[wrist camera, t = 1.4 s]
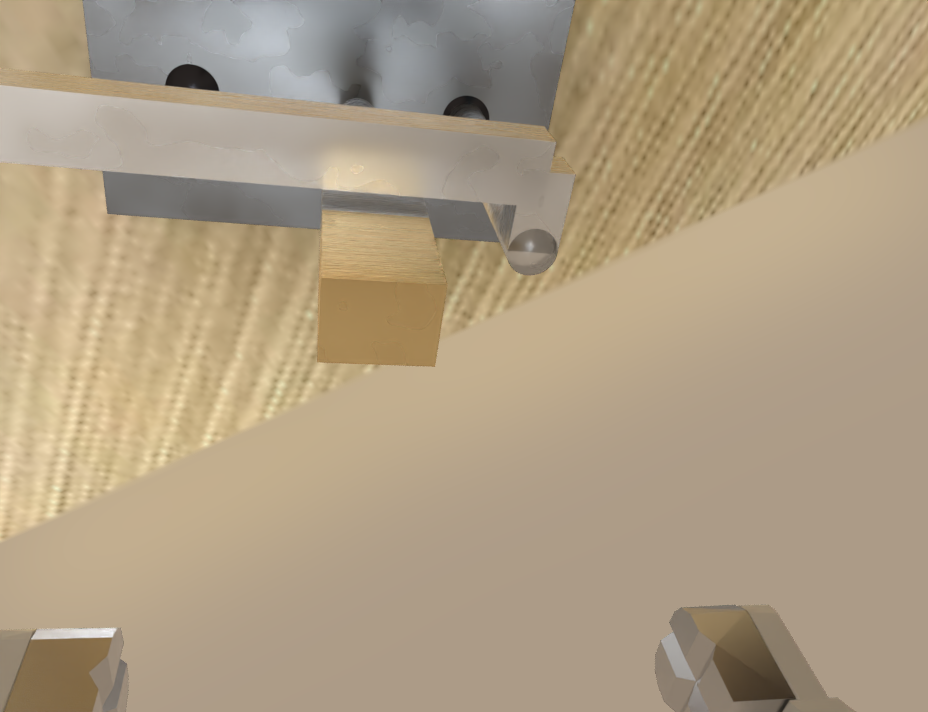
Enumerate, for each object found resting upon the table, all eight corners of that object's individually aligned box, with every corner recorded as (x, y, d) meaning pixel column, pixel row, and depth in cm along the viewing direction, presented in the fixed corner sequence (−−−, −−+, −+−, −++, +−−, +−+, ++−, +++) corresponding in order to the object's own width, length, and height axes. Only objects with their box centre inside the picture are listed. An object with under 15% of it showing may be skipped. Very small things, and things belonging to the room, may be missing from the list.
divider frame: (495, 42, 33) (583, 144, 22) (479, 138, 35) (551, 276, 24) (81, -12, 30) (-71, 78, 18) (94, 99, 32) (-34, 239, 21)
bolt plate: (570, -15, 33) (577, -10, 32) (519, 234, 40) (524, 244, 39) (81, -87, 29) (72, -84, 28) (113, 203, 36) (107, 214, 35)
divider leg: (393, 88, 33) (447, 285, 18) (388, 142, 34) (435, 366, 19) (323, 80, 32) (321, 277, 18) (321, 135, 34) (317, 362, 19)
